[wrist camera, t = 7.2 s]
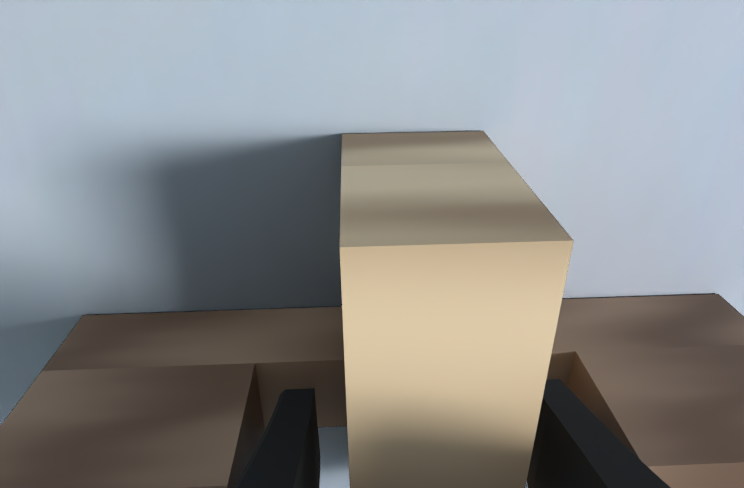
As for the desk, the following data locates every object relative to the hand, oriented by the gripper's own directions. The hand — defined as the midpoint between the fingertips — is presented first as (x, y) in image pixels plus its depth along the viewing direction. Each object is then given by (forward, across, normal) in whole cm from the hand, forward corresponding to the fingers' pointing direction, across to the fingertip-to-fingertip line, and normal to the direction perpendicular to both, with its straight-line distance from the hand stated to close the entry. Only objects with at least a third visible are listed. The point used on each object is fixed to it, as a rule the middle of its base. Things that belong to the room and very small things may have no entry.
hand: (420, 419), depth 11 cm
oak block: (+3, 0, 0) cm, 3 cm away
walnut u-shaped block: (+3, 0, 0) cm, 3 cm away
